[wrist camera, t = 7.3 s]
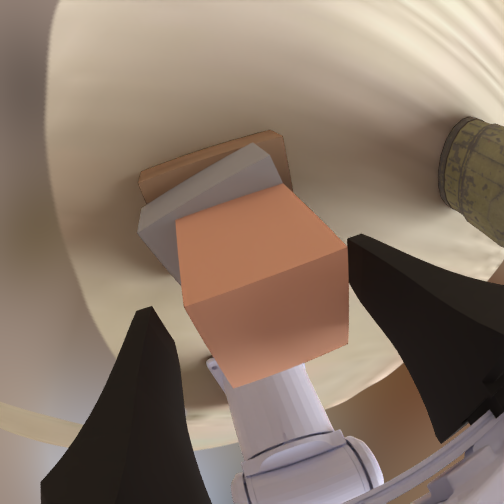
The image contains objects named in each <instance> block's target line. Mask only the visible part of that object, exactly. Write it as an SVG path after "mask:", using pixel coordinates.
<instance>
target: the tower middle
mask: <svg viewBox="0 0 504 504" xmlns="http://www.w3.org/2000/svg"><path fill="white" fill-rule="evenodd" d="M282 183H283V182H282V180H281V178H280V176H279V173H278V171H277V169H276V167H275V165H274V163H273V161H272V159H271V156H270V155H269V154H268V153H266V152H265V151H264V150H263V149H261V148H260V147H259V146H257V145H256V144H255V143H253V142H252V143H250V144H249V145H247V146H245V147H243V148H241V149H239V150H237V151H235V152H234V153H232V154H230V155H228V156H226V157H225V158H223V159H221V160H219V161H217V162H216V163H214V164H212V165H210V166H209V167H207V168H205V169H204V170H202V171H200V172H198V173H197V174H195V175H193V176H192V177H190V178H188V179H187V180H185V181H183V182H182V183H180V184H178V185H177V186H175V187H174V188H172V189H170V190H169V191H167V192H166V193H164V194H162V195H161V196H159V197H158V198H156V199H155V200H153V201H152V202H150V203H148V204H147V205H145V206H144V207H142V208H141V213H140V219H139V224H138V230H137V234H138V235H139V237H140V238H141V239H142V240H143V241H144V243H145V244H146V245H147V246H148V248H149V249H150V250H151V251H152V252H153V254H154V255H155V256H156V257H157V258H158V260H159V261H160V262H161V263H162V264H163V266H164V267H165V268H166V269H167V270H168V272H169V273H170V274H171V275H172V276H173V277H174V278H175V280H176V281H177V282H178V283H179V284H180V285H181V278H180V268H179V258H178V248H177V236H176V223H175V220H176V219H179V218H182V217H185V216H187V215H190V214H193V213H196V212H199V211H201V210H204V209H207V208H210V207H213V206H216V205H218V204H221V203H224V202H227V201H230V200H233V199H236V198H239V197H242V196H245V195H248V194H251V193H254V192H257V191H260V190H263V189H267V188H270V187H273V186H276V185H279V184H282Z"/></svg>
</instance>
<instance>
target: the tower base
mask: <svg viewBox="0 0 504 504" xmlns="http://www.w3.org/2000/svg"><path fill="white" fill-rule="evenodd" d="M252 142H253V143H255V144H256V145H257V146H259V147H260V148H261V149H263V150H264V151H265V152H266V153H268V154H269V155H270V156H271V159H272V161H273V163H274V165H275V167H276V169H277V171H278V173H279V176H280V178H281V180H282V182H283V184H284V185H285V186H287V187H288V188H289V189H290V190H291V191H292V192H293V188H292V182H291V177H290V171H289V166H288V161H287V155H286V150H285V145H284V140H283V136H281V135H279V134H277V133H276V132H274V131H272V130H268V131H264V132H260V133H256V134H253V135H249V136H245V137H242V138H238V139H235V140H231V141H228V142H225V143H221V144H218V145H215V146H212V147H209V148H206V149H202V150H199V151H196V152H193V153H190V154H188V155H185V156H182V157H179V158H176V159H173V160H170V161H168V162H165V163H162V164H160V165H157V166H154V167H152V168H149V169H146V170H144V171H141V174H140V178H139V181H138V185H139V187H140V189H141V192H142V194H143V197H144V199H145V201H146V204H148V203H150V202H152V201H153V200H155V199H156V198H158V197H159V196H161V195H162V194H164V193H166V192H167V191H169V190H170V189H172V188H174V187H175V186H177V185H178V184H180V183H182V182H183V181H185V180H187V179H188V178H190V177H192V176H193V175H195V174H197V173H198V172H200V171H202V170H204V169H205V168H207V167H209V166H210V165H212V164H214V163H216V162H217V161H219V160H221V159H223V158H225V157H226V156H228V155H230V154H232V153H234V152H235V151H237V150H239V149H241V148H243V147H245V146H247V145H249V144H250V143H252Z"/></svg>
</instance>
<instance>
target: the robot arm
mask: <svg viewBox="0 0 504 504" xmlns="http://www.w3.org/2000/svg"><path fill="white" fill-rule="evenodd" d="M347 247H348V275H349V284H350V285H351V287H352V289H353V291H354V292H355V294H356V296H357V297H358V299H359V301H360V302H361V303H362V305H363V306H364V307H365V309H366V310H367V311H368V313H369V314H370V315H371V316H372V318H373V319H374V320H375V322H376V323H377V324H378V325H379V327H380V328H381V329H382V331H383V332H384V333H385V335H386V336H387V337H388V339H389V340H390V341H391V343H392V344H393V345H394V347H395V348H396V350H397V351H398V353H399V355H400V357H401V358H402V360H403V362H404V363H405V365H406V367H407V369H408V370H409V373H410V375H411V377H412V378H413V380H414V383H415V385H416V387H417V389H418V391H419V393H420V395H421V398H422V400H423V402H424V404H425V407H426V409H427V412H428V415H429V417H430V420H431V423H432V425H433V428H434V432H435V435H436V437H437V438H438V440H439V442H440V443H441V444H442V443H443V442H444V441H446V440H447V439H448V438H450V437H451V436H453V435H454V434H455V433H456V432H458V431H459V430H460V429H462V428H463V427H464V426H465V425H467V424H468V423H469V424H470V425H471V426H470V427H469V428H467V429H466V430H465V431H464V432H462V433H461V434H460V435H459V436H457V437H456V438H455V439H453V440H452V441H451V442H449V443H448V444H447V445H445V446H444V447H442V448H441V449H440V450H438V451H437V452H435V453H434V454H432V455H431V456H429V457H428V458H426V459H425V460H423V461H422V462H420V463H419V464H417V465H415V466H414V467H412V468H410V469H409V470H407V471H405V472H404V473H402V474H401V475H399V476H397V477H395V478H393V479H391V480H390V481H388V482H386V483H384V480H383V475H382V472H381V469H380V467H379V464H378V462H377V461H376V458H375V457H374V455H373V453H372V452H371V450H370V449H369V447H368V446H367V445H366V444H365V443H364V442H363V441H361V440H359V439H356V438H355V437H353V436H347V437H345V438H344V436H343V434H342V432H341V430H337V431H334V429H333V427H332V425H331V423H330V421H329V419H328V417H327V415H326V412H325V410H324V408H323V406H322V404H321V402H320V400H319V398H318V396H317V394H316V392H315V389H314V387H313V385H312V383H311V381H310V379H309V377H308V375H307V373H306V371H305V364H304V363H303V364H300V365H298V366H295V367H292V368H290V369H287V370H285V371H282V372H279V373H277V374H274V375H271V376H269V377H266V378H263V379H260V380H257V381H254V382H252V383H249V384H246V385H243V386H240V387H237V388H233V387H232V386H231V384H230V383H229V381H228V380H227V378H226V377H225V375H224V373H223V372H222V370H221V369H220V367H219V365H218V364H217V362H216V361H215V359H214V357H213V358H210V359H208V360H207V361H206V364H207V367H208V369H209V370H210V372H211V373H212V375H213V376H214V378H215V379H216V381H217V382H218V384H219V385H220V387H221V388H222V390H223V391H224V393H225V394H226V397H227V401H228V404H229V408H230V412H231V416H232V419H233V423H234V427H235V430H236V434H237V437H238V441H239V444H240V447H241V451H242V455H243V458H244V462H241V465H242V469H243V472H240V473H237V474H236V475H235V478H234V480H233V481H232V483H231V491H232V498H233V502H234V504H386V503H387V502H389V501H391V500H393V499H395V498H396V497H398V496H400V495H402V494H404V493H405V492H407V491H409V490H410V489H412V488H414V487H415V486H417V485H418V484H420V483H422V482H423V481H425V480H427V479H428V478H430V477H431V476H433V475H434V474H435V473H437V472H438V471H440V470H441V469H443V468H444V467H445V466H447V465H448V464H450V463H451V462H452V461H454V460H455V459H456V458H457V457H459V456H460V455H461V454H463V453H464V452H465V451H466V452H465V457H464V459H463V460H461V461H460V462H458V463H456V464H455V465H453V466H452V467H450V468H449V469H447V470H446V471H445V472H443V473H442V474H441V475H439V476H438V477H437V478H435V479H434V480H433V481H431V482H430V483H429V484H428V485H427V487H428V489H429V491H430V492H429V493H427V494H425V495H424V496H422V497H421V498H419V499H417V500H415V501H414V502H412V503H410V504H504V285H500V284H495V283H490V282H486V281H482V280H478V279H474V278H470V277H467V276H463V275H460V274H457V273H454V272H451V271H448V270H445V269H443V268H440V267H437V266H435V265H432V264H430V263H427V262H425V261H422V260H420V259H418V258H415V257H413V256H411V255H409V254H406V253H404V252H402V251H400V250H398V249H395V248H393V247H391V246H389V245H387V244H385V243H382V242H380V241H378V240H376V239H373V238H371V237H369V236H366V235H364V234H359V235H356V236H354V237H351V238H348V239H347ZM41 504H212V503H211V500H210V498H209V496H208V493H207V491H206V488H205V485H204V482H203V480H202V477H201V474H200V471H199V468H198V465H197V462H196V458H195V455H194V452H193V448H192V445H191V441H190V437H189V433H188V428H187V423H186V416H185V408H184V399H183V390H182V380H181V371H180V364H179V359H178V354H177V350H176V345H175V342H174V340H173V339H172V337H171V335H170V334H169V332H168V331H167V329H166V328H165V326H164V325H163V323H162V321H161V320H160V318H159V317H158V315H157V314H156V312H155V310H154V309H153V307H152V306H150V307H147V308H144V309H141V310H138V311H136V313H135V315H134V318H133V320H132V322H131V325H130V327H129V330H128V332H127V335H126V337H125V340H124V342H123V345H122V347H121V350H120V352H119V355H118V357H117V360H116V362H115V365H114V367H113V369H112V371H111V374H110V376H109V378H108V380H107V383H106V385H105V387H104V389H103V391H102V393H101V395H100V397H99V399H98V401H97V403H96V405H95V407H94V409H93V410H92V412H91V414H90V416H89V417H88V419H87V420H86V422H85V424H84V425H83V427H82V429H81V430H80V432H79V434H78V435H77V437H76V438H75V440H74V441H73V443H72V444H71V445H70V447H69V448H68V450H67V451H66V452H65V454H64V455H63V456H62V458H61V459H60V460H59V462H58V463H57V464H56V465H55V467H54V468H53V469H52V470H51V471H50V472H49V473H48V474H47V476H46V477H45V478H44V479H43V480H42V481H41Z"/></svg>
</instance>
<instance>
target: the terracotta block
mask: <svg viewBox="0 0 504 504" xmlns="http://www.w3.org/2000/svg"><path fill="white" fill-rule="evenodd" d="M175 223H176V236H177V248H178V258H179V268H180V278H181V287H182V295H183V303H184V308H185V310H186V311H187V313H188V315H189V317H190V319H191V320H192V322H193V324H194V326H195V327H196V329H197V331H198V332H199V334H200V336H201V337H202V339H203V341H204V343H205V344H206V346H207V348H208V349H209V351H210V352H211V354H212V356H213V357H214V359H215V361H216V362H217V364H218V365H219V367H220V369H221V370H222V372H223V373H224V375H225V377H226V378H227V380H228V381H229V383H230V384H231V386H232V387H233V388H237V387H240V386H243V385H246V384H249V383H252V382H254V381H257V380H260V379H263V378H266V377H269V376H271V375H274V374H277V373H279V372H282V371H285V370H287V369H290V368H292V367H295V366H298V365H300V364H303V363H305V362H307V361H310V360H312V359H315V358H317V357H319V356H322V355H324V354H326V353H329V352H331V351H333V350H335V349H338V348H340V347H342V346H344V345H346V344H348V330H349V275H348V247H347V246H346V245H345V244H344V243H343V242H342V241H341V240H340V239H339V238H338V237H337V236H336V234H335V233H334V232H333V231H332V230H331V229H330V228H329V227H328V226H327V225H326V224H325V223H324V222H323V221H322V220H321V219H320V218H319V217H318V216H317V215H316V214H315V213H314V212H313V211H312V210H310V209H309V208H308V207H307V206H306V205H305V204H304V203H303V202H302V201H301V200H300V199H299V198H298V197H297V196H296V195H295V194H294V193H293V192H292V191H291V190H290V189H289V188H288V187H287V186H285V185H284V184H283V183H282V184H279V185H276V186H273V187H270V188H267V189H263V190H260V191H257V192H254V193H251V194H248V195H245V196H242V197H239V198H236V199H233V200H230V201H227V202H224V203H221V204H218V205H216V206H213V207H210V208H207V209H204V210H201V211H199V212H196V213H193V214H190V215H187V216H185V217H182V218H179V219H176V220H175Z"/></svg>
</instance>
